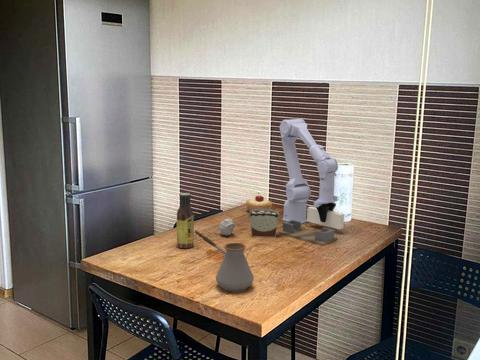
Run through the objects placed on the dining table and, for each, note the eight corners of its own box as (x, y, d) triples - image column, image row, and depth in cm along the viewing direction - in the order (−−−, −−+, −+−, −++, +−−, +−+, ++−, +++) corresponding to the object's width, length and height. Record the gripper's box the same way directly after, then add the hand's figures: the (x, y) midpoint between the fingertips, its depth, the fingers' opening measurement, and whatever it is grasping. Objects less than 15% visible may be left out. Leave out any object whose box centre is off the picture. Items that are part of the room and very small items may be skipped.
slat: (307, 221, 222) (307, 207, 221) (310, 220, 224) (311, 206, 222) (340, 229, 211) (340, 214, 210) (343, 228, 213) (344, 213, 212)
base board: (279, 233, 213) (279, 231, 212) (294, 228, 220) (294, 226, 220) (322, 245, 199) (322, 243, 199) (337, 239, 206) (337, 237, 206)
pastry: (250, 216, 238) (250, 196, 236) (242, 209, 249) (243, 190, 247) (275, 214, 241) (276, 195, 239) (267, 207, 252) (267, 189, 251)
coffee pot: (260, 284, 163) (261, 237, 160) (239, 297, 153) (240, 248, 150) (205, 269, 174) (205, 225, 171) (182, 281, 165) (182, 234, 162)
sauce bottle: (191, 249, 193) (190, 196, 189) (174, 248, 194) (173, 195, 190) (196, 244, 199) (195, 192, 195) (180, 242, 201) (179, 191, 196)
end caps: (282, 230, 214) (282, 222, 213) (291, 227, 218) (291, 219, 217) (325, 242, 200) (325, 233, 200) (334, 238, 205) (334, 229, 204)
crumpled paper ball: (225, 239, 205) (225, 221, 204) (215, 234, 211) (215, 217, 210) (238, 236, 209) (238, 219, 208) (228, 231, 214) (228, 215, 213)
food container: (279, 233, 214) (280, 208, 212) (279, 237, 208) (280, 213, 206) (249, 231, 215) (249, 207, 213) (248, 236, 209) (248, 211, 207)
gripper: (324, 193, 206) (323, 226, 209) (344, 187, 217) (342, 219, 220) (309, 190, 211) (308, 223, 214) (330, 184, 222) (328, 215, 224)
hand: (325, 220), depth 217 cm, fingers closed on slat, 2 cm apart
